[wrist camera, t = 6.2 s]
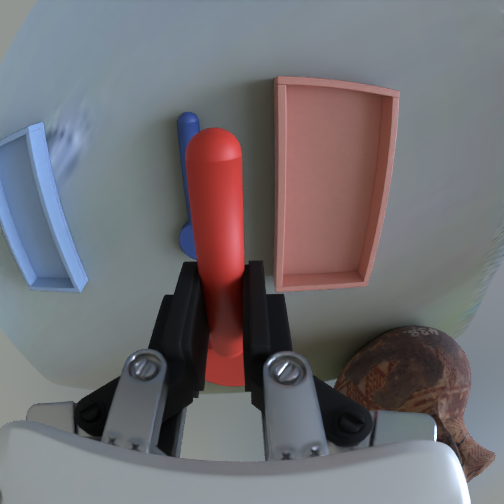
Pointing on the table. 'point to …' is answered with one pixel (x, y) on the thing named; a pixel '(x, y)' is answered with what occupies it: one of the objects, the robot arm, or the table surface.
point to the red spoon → (219, 246)
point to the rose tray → (330, 180)
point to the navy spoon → (186, 131)
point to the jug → (418, 385)
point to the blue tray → (36, 215)
